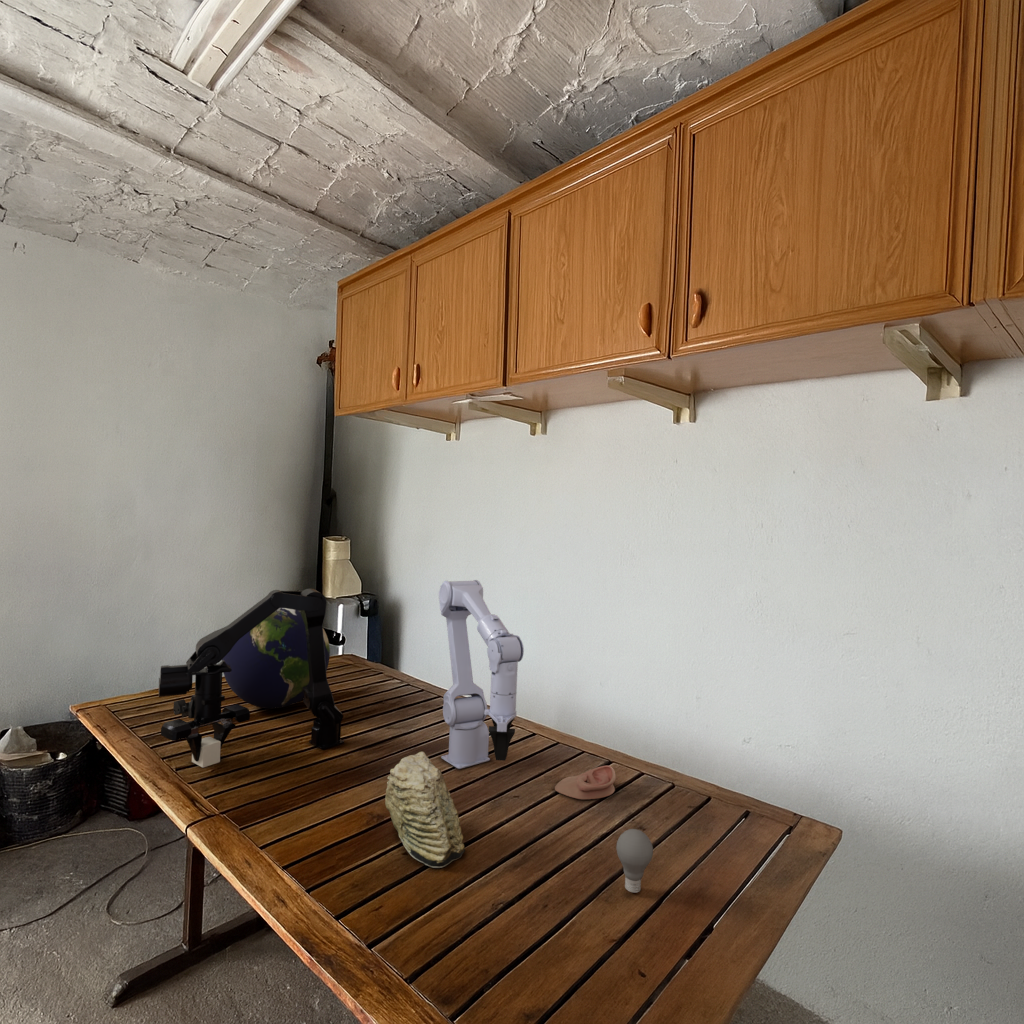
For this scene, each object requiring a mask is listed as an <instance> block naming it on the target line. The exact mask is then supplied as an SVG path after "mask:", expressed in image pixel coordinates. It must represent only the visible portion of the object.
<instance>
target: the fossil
mask: <svg viewBox="0 0 1024 1024" xmlns="http://www.w3.org/2000/svg"><path fill="white" fill-rule="evenodd" d="M389 773H390V774H389V775H388V776H387V780H388V781H387V782H386V789H385V798H384V800H385V802H384V804H385V807H386V810H387V811H388V812H389V814H390V815H389V816H390V818H391V822H392V825H393V827H394V828H395V830H396V831H397V833H398V834H397V835H398V838H399V839H400V842H402V845H403V847H404V848H405V850H406V851H407V853H408V854H409V855H410V856H411V857H412V858H413V859H415V860H416V861H418V862H420V863H422V864H423V865H424V866H428V867H430V868H433V869H440V868H441V869H442V868H444V867H447V866H448V865H450V864H451V863H452V862H453V861H457V860H459V859H461V857H462V856H463V854H464V853H465V852H466V848H465V844H464V835H463V833H462V826H461V820H460V817H459V812H458V809H457V808H456V806H455V803H454V799H453V798H452V795H451V792H450V791H449V789H448V787H447V783H446V781H445V778H444V775H443V773H442V770H441V769H440V768H437V767H436V766H435V764H434V763H433V762H432V760H431V759H430V758H429V757H428V756H427V754H426V753H425V752H424V751H419V752H417V753H416V754H410V755H408V756H405V757H403V758H401V759H400V761H399V762H398V763H397V764H396V765H395V766H394V768H390V771H389Z"/></svg>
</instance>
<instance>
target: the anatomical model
mask: <svg viewBox="0 0 1024 1024" xmlns="http://www.w3.org/2000/svg"><path fill="white" fill-rule="evenodd" d="M616 778H617V775H616V772H615V769H614V768H613V767H612V766H611V765H601V766H597V767H594V768H592V769H589V770H587V771H585V772H583V773H580V774H578V775H572V776H567V777H564V778H562V780H560V781H559V782H557V784H556V785H555V786H554V790H555V791H556V792H557V793H559V794H561V795H563V796H567V797H569V798H573V799H576V800H596V799H603V798H606V797H609V796H611V795H613V794H614V793H615V791H616V788H615V785H614V783H615V782H616Z"/></svg>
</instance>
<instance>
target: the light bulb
mask: <svg viewBox="0 0 1024 1024" xmlns="http://www.w3.org/2000/svg"><path fill="white" fill-rule="evenodd" d="M615 849H616V854H617V857H618V859H619V861H620V863H621V865H622V867H623V873H624V874H623V875H624V876H625V878H624V888H625V890H627V891H628V892H630V893H634V894H635V893H639V892H640V891H641V889H642V887H641V886H642V879H643V877H644V875H645V871H646V868H647V867H648V866H649V864H650V863H651V861H652V859H653V855H654V847H653V843H652V841H651V838H649V836H648V835H647V834H646V833H645V832H643V831H642V830H641V829H636V828H629V829H627V830H625V831H623V832H622V833H621V834H620V835H619V837H618V839H617V841H616V847H615Z"/></svg>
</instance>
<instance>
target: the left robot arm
mask: <svg viewBox="0 0 1024 1024" xmlns="http://www.w3.org/2000/svg"><path fill="white" fill-rule="evenodd" d="M327 605H328V601H327V598H326V596H325V595H324V594H323V593H321V592H320V591H318V590H316V589H315V588H306V589H303V590H301V591H300V590H280V589H273V590H271V591H270V592H268V594H267V595H266V596H265V597H263V598H262V599H260V600H259V601H258V602H256V604H254V605H253V606H252V607H250V608H249V609H247V610H245V612H243V613H242V614H241V615H239V616H238V617H236V619H234V620H233V621H232V622H230V623H229V624H227V625H226V626H223V627H221V628H219V629H217V630H214V631H212V632H211V633H208V634H207V635H205V636H202V637H201V638H200V639H199V640H198V641H197V643H196V644H195V649H194V650H195V651H194V652H193V653H192V654H191V656H190V657H189V658H188V659H187V660H186V661H185V664H176V665H169V664H168V665H161V666H160V670H159V671H160V672H159V677H158V698H163V697H175V696H184V695H187V693H190V690H193V678H194V677H195V678H194V694H193V695H191V697H190V701H188V702H186V699H179V700H175V701H173V709H172V710H173V714H174V715H175V716H178V715H181V717H182V718H186V717H188V719H193V720H190V721H185V720H183V719H180V718H178V719H177V718H176V719H173V720H170V721H166V722H164V723H162V726H161V728H160V736H162V737H164V738H166V739H168V740H169V741H171V742H176V741H181V740H184V739H185V740H186V742H187V744H188V746H189V749H190V751H191V752H190V753H191V755H192V754H193V757H194V760H195V761H199V757H200V751H201V742H202V738H203V734H201V733H199V728H203V727H207V726H211V725H212V729H213V738H214V739H216V740H218V741H221V747H220V750H221V749H222V747H223V745H224V744H225V741H226V739H227V738H228V736H229V735H230V733H231V732H232V730H233V729H234V728H236V727H237V724H236V723H234V721H236V722H237V723H243V722H247V721H250V720H251V711H250V709H249V708H248V707H246V706H245V705H244V706H243V705H241V704H238V703H235V704H232V705H227V706H225V707H223V708H222V702H224V701H225V700H226V696H225V695H223V674H224V672H231V671H232V669H231V667H230V666H229V665H228V664H226V662H225V661H224V660H222V659H223V658H224V657H225V656H226V655H227V654H228V653H229V651H230V650H231V649H232V648H233V646H234V645H235V643H236V642H237V641H238V640H239V639H240V638H241V637H243V636H244V635H245V634H247V633H248V632H249V631H250V630H252V629H253V628H254V627H256V626H257V625H258V624H260V623H261V622H262V621H263V620H265V619H266V618H267V617H269V616H270V615H271V614H272V613H274V612H275V611H276V610H278V609H279V608H287V609H294V610H300V613H301V616H302V618H303V621H304V624H305V628H306V641H307V653H308V665H309V678H310V679H309V684H308V687H302V689H303V693H304V699H303V700H302V702H303V703H304V705H305V707H306V708H307V710H309V711H310V712H311V714H312V715H313V716H314V717H315V719H313V721H312V722H313V723H312V727H311V730H310V731H311V732H310V733H311V735H310V739H309V740H308V743H309V744H310V745H313V746H314V747H316V748H318V749H320V750H327V749H329V748H333V747H336V746H340V745H343V744H344V743H345V741H344V740H343V739H341V737H342V735H341V733H342V721H343V718H344V714H343V713H342V712H341V710H340V709H338V707H337V706H336V704H335V699H334V697H333V696H334V695H333V692H332V690H331V686H330V684H329V682H328V676H327V670H326V662H325V649H324V637H323V629H324V623H325V620H326V619H325V618H326V615H327ZM193 676H194V677H193Z"/></svg>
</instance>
